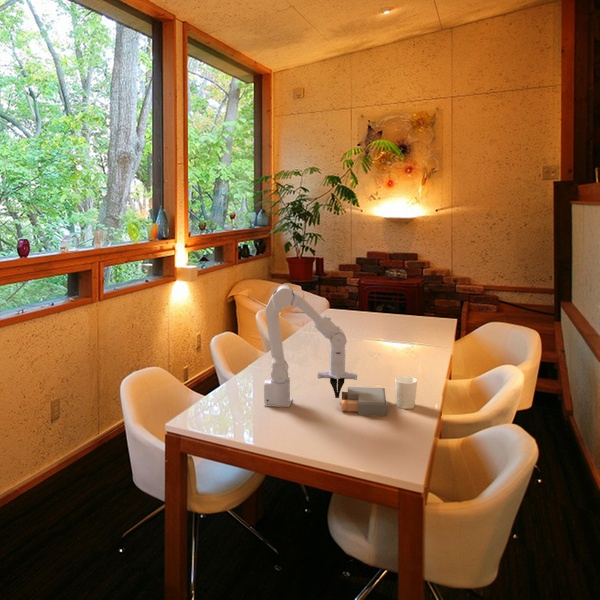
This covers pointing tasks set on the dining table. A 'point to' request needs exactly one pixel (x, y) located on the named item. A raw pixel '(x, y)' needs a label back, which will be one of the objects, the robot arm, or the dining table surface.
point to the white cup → (405, 392)
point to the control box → (369, 400)
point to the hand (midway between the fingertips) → (337, 397)
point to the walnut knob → (344, 395)
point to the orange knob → (349, 405)
